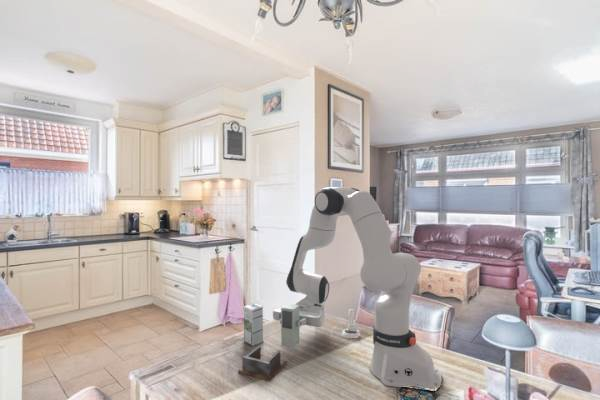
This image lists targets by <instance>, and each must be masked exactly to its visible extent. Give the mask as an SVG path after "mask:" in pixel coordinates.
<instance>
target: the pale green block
mask: <svg viewBox="0 0 600 400" xmlns="http://www.w3.org/2000/svg"><path fill="white" fill-rule="evenodd" d="M282 306H283V307H281V306H280V307H281V324H280V325H281V329H280V330H281V332H280V333H281V334H280V335H281V336H280V338H281V339H280V340H281V341H280V343H281V347H285V348H291V349H294V348H296V347H297V346H298V345H299V344H300V343H301V342H300V327H297V326H296V324H295V323H296V321H297V320H299V305H295V304H293V303H288V302H287V303H285V305H282Z"/></svg>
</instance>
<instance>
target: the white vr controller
mask: <svg viewBox="0 0 600 400" xmlns="http://www.w3.org/2000/svg"><path fill="white" fill-rule="evenodd" d="M358 328H359V326H358V324H357V323H355V311H354V309H351V308H349V309H348V325H347V328H344V329H343V330H342V333H341V335H342V337H344V338H346V339H349V338H351V339H352V338H355V339H359V338H360V337H361V333H360V331H359V330H358ZM348 332H353V333H348ZM359 336H360V337H359ZM358 337H359V338H358ZM351 339H350V340H351Z"/></svg>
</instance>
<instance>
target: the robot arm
mask: <svg viewBox="0 0 600 400" xmlns="http://www.w3.org/2000/svg"><path fill="white" fill-rule="evenodd" d="M340 216H341V217H342V216H343V217H344V216H349V218H350V220H351V223H352V224H353V227H354V230H355V232H356V234H357V237H358V240H359V242H360V244H361V249H362V255H363V263H362V265H361V268H360V273H359V275H360V280H361V282H362V284H363V286H364V287H365V288H367V289H368V290H369V291H372V292H380V294H379V296H378V297H377V299H376V301H375V304H374V326H373V328H372V341H373V349H372V358H371V362H370V364H369V370H370V372H371V374H372V375H373V376H374V377H376V378H377V379H379V380H380V381H381V382H382V384H383V385H385V386H388V387H394V388H401V386H408V385H410V386H417V387H424V388H429V389H434V388H435V387H437V388H438V387H439V386H440V385H441V386H442V384H441V382H442V383H443V381H442V380H443V379H442V377H443V376H442V373H441V371H440V370H439V369H438V368H437V367H436V366H434V362H433V358H432V356H431V355H430V353H429V352H428V351H426V350H425V349H424V348H423V347H421V346H420V345H419V344H418V343H417V339H416V332H415V330H413V331H412V330H410V308H411V307H410V306H411V302H412V301H411V300H412V296H413V293H414V288H415V285H416V281H417V279H418V278H419V276H420V275H421V271H422V267H421V263H420V260H419V259H418V258H417V257H416V256H415V255H413V254H411V253H407V252H395V253H393V252H392V248H391V238H392V231H391V228H390V226H389V224H388V222H387V220H386V218H385V216H384V214H383V212H382V210H381V208H380V206H379V205H378V203H377V201H376V199H374V197H373V196H372V195H371V193H370V192H368V191H366V190H360V189H358V188H355V187H344V186H343V187H342V186H334V187H324V188H323V187H322V188H321V189H319V190H318V191H317V192H316V194H315V196H314V204H313V207H312V210H311V213H310V219H309V226H308V230H307V231H306V233H305V234H303V235H302V236H301V237H300V238H299V241H298V243H297V246H296V250H295V253H294V257H293V259H292V263H291V267H290V269H289V272H288V273H287V274H288V275H287V278H286V280H285V281H286V286H287V287H288V289H289V291H290V292H292V293H297V294H298V293H299V294H303V295H305V297H304V298H302V299H301V300H299V301H298V302H296V303H295V304H294V305H299V320H297V321H296V323H295V324H296V326H297V327H299V328H300V327H301V326H310V327H315V328H320V327H321V326H323V325H324V322H325V317H326V316H325V314H326V313H325V306H326V303H327V300H328V296H329V293H330V283H329V281H328V279H327V277H326V276H324V275H322V274H318V273H313V272H310V271H307V270H305V269H304V268H303V266H304V263H305V259H306V257H307V254H308V251H311V250H319V249H324V248H326V247H328V246H330V245H331V243H332V242H333V241H334V239H335V235H336V229H337V228H336V227H337V220H338V218H339V217H340ZM283 306H284V305H282V306H281V305H280V306H279V307H276V308H275V309H273V310H272V318H273V320H275V321H279V324H280V325H281V307H283Z"/></svg>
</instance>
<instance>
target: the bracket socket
mask: <svg viewBox="0 0 600 400" xmlns="http://www.w3.org/2000/svg"><path fill="white" fill-rule="evenodd" d="M261 351H262V349H261V346H259V345H258V346H257V347H255V348H253V350H251V351H250V352H249V353H248V354H246V355H243V356H242V366H241V367H240V368H238V370H237V372H238V374H241V375H244V376H248V377H251V378H255V379H258V380H263V381H265V382H271V381H272V380H273V379H274V378H275V377H276V376H277V375H278V374H279V373H280V372H281V371H282V369H284V367H285V366H286V365H288V361H287V360H285V359H281V350H277V351H276V352H274V353H273V354H272V355H271V356H269V355H265V354H262V352H261Z"/></svg>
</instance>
